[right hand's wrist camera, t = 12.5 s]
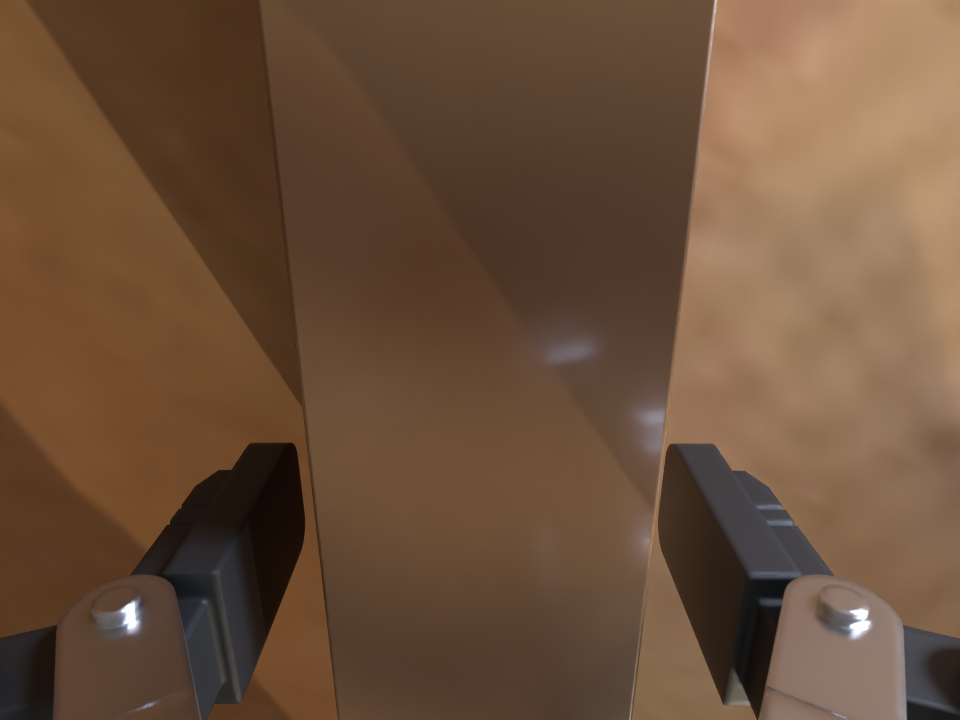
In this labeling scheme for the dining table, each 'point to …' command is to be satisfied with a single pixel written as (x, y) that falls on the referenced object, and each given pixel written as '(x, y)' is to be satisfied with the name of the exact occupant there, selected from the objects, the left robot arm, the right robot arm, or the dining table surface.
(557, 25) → the beam
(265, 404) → the dining table surface
